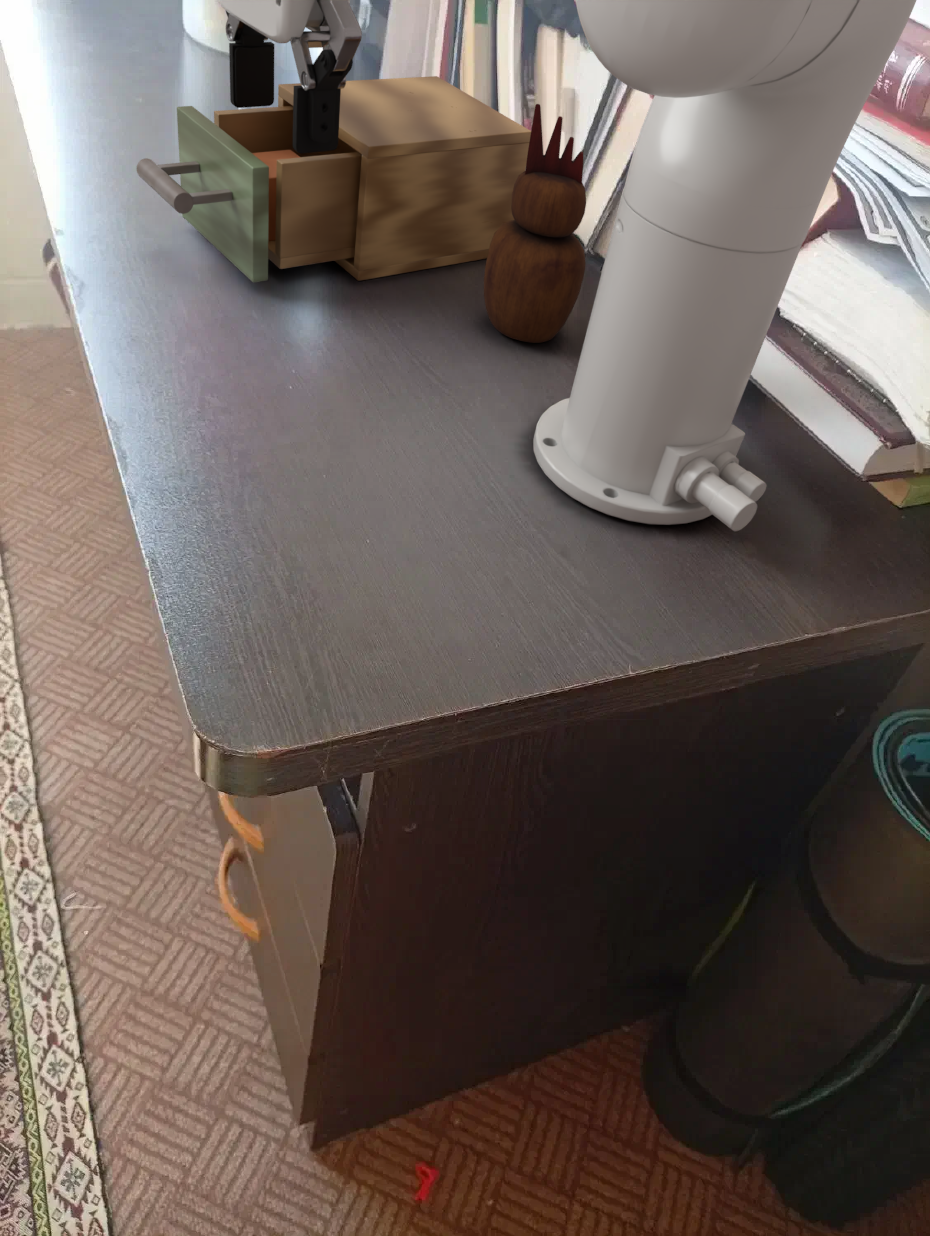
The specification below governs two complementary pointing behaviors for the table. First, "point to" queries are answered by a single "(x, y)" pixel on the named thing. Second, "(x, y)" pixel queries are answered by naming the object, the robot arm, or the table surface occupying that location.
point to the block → (273, 183)
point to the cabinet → (425, 172)
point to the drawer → (260, 189)
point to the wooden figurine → (538, 244)
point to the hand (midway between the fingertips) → (282, 126)
